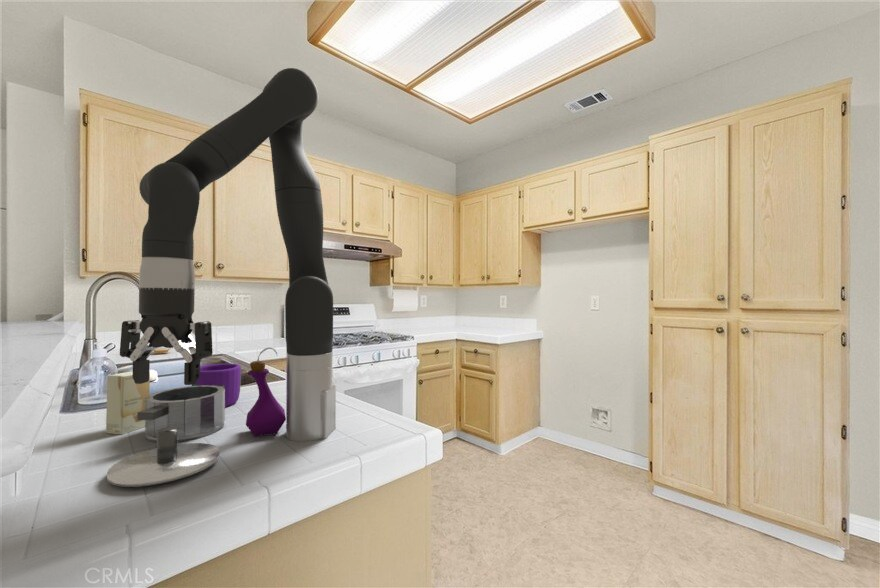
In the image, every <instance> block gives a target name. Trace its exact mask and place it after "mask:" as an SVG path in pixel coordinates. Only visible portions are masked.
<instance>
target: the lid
mask: <svg viewBox="0 0 880 588" xmlns="http://www.w3.org/2000/svg"><path fill="white" fill-rule="evenodd" d="M178 443H179V442H178V428H177V427H167V428H163V429H160V430H158V431H157V442H156V448H152V449H149V450H144V451H141V452H138V453H136V454H133V455H129V456H128V457H125V458H124V459H121V460H120V461H118V462H116V463H114V464H113V465H111V467H110V468H108V469H107V474H106V475H107V477H106V478H107V479H106V480H107V482H108V483H109V484H111V485H113V486H117V487H123V488H124V487H125V488H137V487H149V486H155V485H156V486H157V485H160V484H166V483H170V482H173V481H174V482H175V481H177V480H181V479H185V478H187V477H190V476H192V475H195V474H198V473H200V472H202V471H205V470H206V469H208V468H209V467H211V466H213V465H214V464H216V462H217V461H218V460H219V458H220V449H219V447H218V446H217V445H214V444H210V443H202V442H201V443H200V442H192V443H191V442H189V443H179V444H178Z"/></svg>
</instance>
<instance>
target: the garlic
mask: <svg viewBox="0 0 880 588" xmlns="http://www.w3.org/2000/svg"><path fill="white" fill-rule="evenodd" d="M149 372H150V382H152V383H157V382H158V381H159V377H158V371H156V370H155V369H149Z"/></svg>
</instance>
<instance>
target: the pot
mask: <svg viewBox="0 0 880 588" xmlns="http://www.w3.org/2000/svg"><path fill="white" fill-rule="evenodd" d="M225 411H226V407H225V385H200V386H191V385H186V386H181V387H175V388H170V389H164V390H159V391H156V392H154V393H150V394H149V396H147V397H146V398H145V410H143V411H140V412H138V419H137V420H145V427H144V433H145V439H146V441H148V442H152V443H157V431H158V430H160V429H163V428H167V427H177V428H178V443H181V442H188V441H193V440H196V439H200V438H204V437H207V436H210V435H212V434H213V435H214V434H216V433H217V432H219V431H221V430H222V429H223V428H224V427H225V421H226V419H225V418H226V412H225Z"/></svg>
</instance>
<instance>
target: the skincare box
mask: <svg viewBox="0 0 880 588" xmlns="http://www.w3.org/2000/svg"><path fill="white" fill-rule="evenodd" d="M132 376H133V370H132V371H127V372H121V373H114V374H109V375H107V377H106V380H107V383H106V385H107V386H106V418H105V419H106V420H105V433H106V434H114V435H124V434H125V435H126V434H127V433H131V432H133V431H137V430H140V429H143V428H145V420H137V419H138V412H140V411H143V410H145V398H146V397H147V396H149V395H150V394H151V393H150V389H151V388H150V387H151V386H150V385H151V383H150V382H151V381H150V372H149V381H148V382H146V383H142V384H135V382H134V380H133V377H132Z"/></svg>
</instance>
